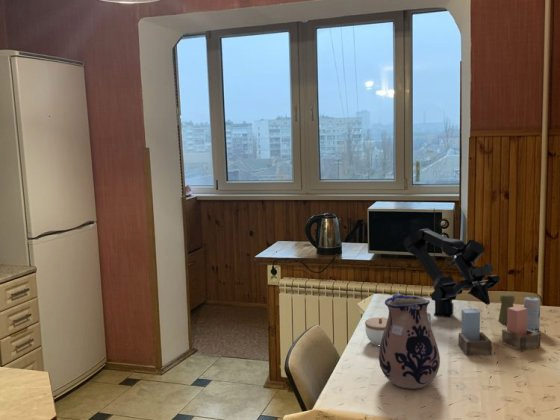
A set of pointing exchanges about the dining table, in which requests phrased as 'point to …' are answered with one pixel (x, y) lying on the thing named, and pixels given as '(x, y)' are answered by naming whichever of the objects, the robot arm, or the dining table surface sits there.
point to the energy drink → (532, 312)
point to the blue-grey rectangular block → (471, 324)
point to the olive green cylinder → (505, 306)
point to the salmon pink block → (517, 320)
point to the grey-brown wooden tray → (521, 339)
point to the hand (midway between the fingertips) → (488, 304)
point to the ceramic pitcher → (408, 343)
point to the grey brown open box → (475, 345)
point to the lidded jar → (375, 329)
